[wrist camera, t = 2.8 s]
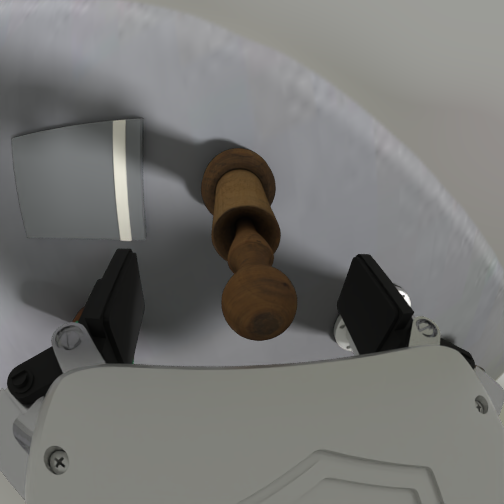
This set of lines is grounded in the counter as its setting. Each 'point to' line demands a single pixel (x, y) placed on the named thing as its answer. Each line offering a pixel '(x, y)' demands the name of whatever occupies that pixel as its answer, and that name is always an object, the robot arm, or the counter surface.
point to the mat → (82, 181)
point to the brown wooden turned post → (248, 244)
